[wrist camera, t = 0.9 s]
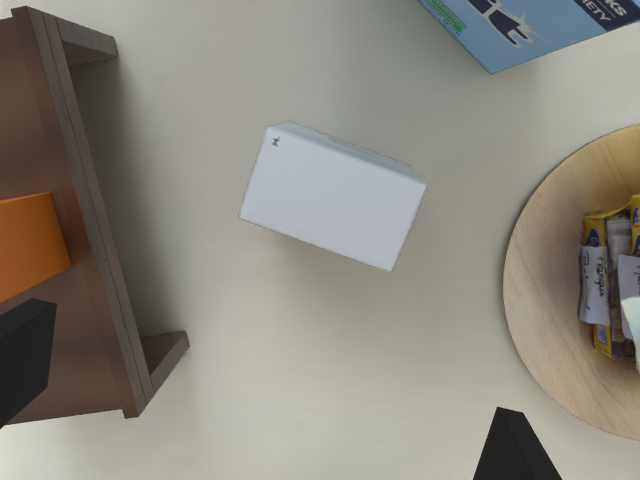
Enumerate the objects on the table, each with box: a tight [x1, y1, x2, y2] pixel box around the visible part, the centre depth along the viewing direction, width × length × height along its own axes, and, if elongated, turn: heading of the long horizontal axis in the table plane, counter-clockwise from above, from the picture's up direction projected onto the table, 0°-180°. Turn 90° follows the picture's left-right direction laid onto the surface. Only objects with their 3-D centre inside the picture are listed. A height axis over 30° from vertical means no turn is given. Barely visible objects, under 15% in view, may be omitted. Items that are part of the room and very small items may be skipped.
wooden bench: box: [0, 6, 189, 425], centre depth 39 cm, size 26×14×12 cm, turn 10°
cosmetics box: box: [238, 121, 427, 272], centre depth 38 cm, size 10×6×10 cm, turn 70°
